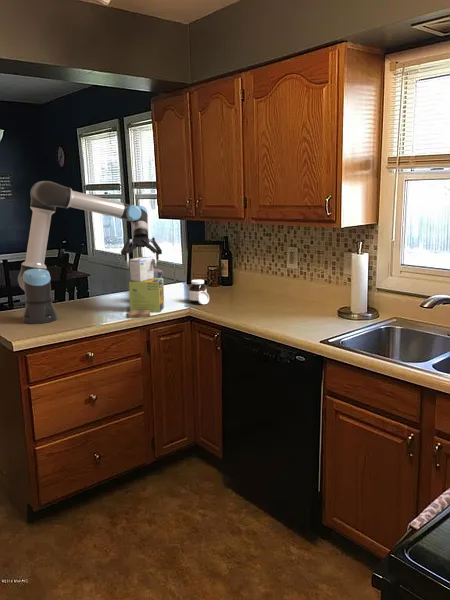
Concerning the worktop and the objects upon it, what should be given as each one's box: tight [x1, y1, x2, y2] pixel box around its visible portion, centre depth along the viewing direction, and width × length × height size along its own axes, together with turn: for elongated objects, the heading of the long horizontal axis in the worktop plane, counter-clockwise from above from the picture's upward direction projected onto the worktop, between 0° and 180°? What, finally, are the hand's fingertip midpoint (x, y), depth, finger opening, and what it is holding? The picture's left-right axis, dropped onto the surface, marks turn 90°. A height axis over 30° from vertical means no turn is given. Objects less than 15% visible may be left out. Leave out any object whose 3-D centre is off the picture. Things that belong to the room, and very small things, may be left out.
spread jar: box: [188, 279, 210, 305], centre depth 279 cm, size 12×11×12 cm
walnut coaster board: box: [128, 310, 151, 319], centre depth 254 cm, size 10×8×2 cm
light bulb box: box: [129, 256, 154, 281], centre depth 262 cm, size 11×7×11 cm, turn 149°
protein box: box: [128, 277, 165, 313], centre depth 264 cm, size 10×15×16 cm
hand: (142, 265), depth 260 cm, fingers open, 13 cm apart
